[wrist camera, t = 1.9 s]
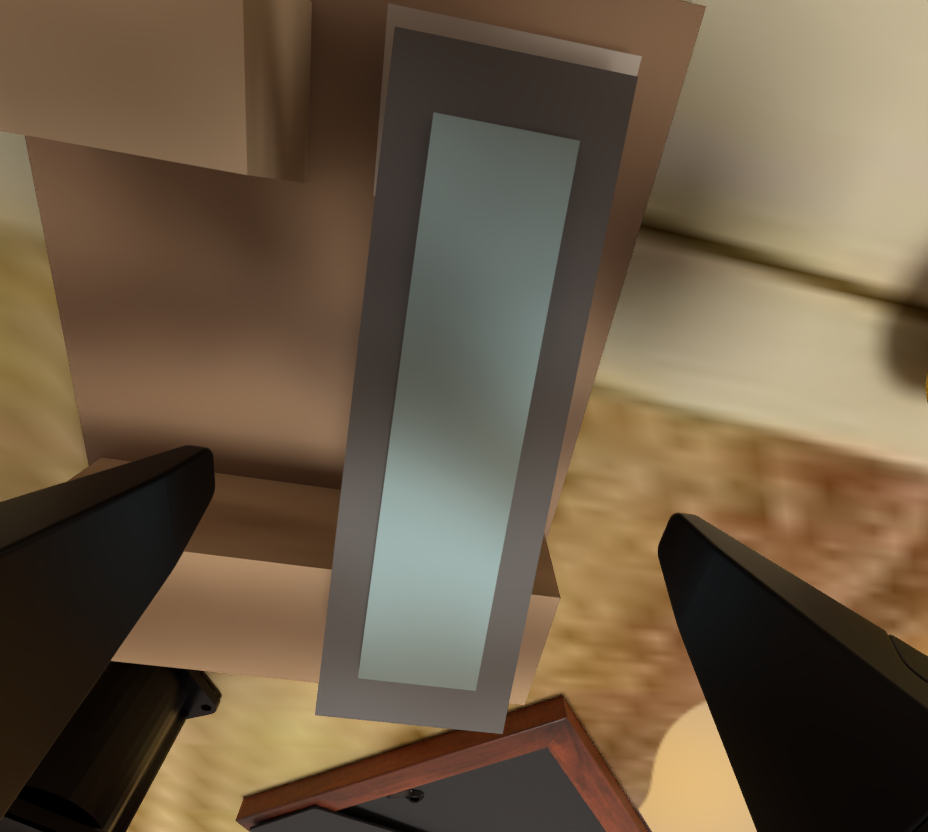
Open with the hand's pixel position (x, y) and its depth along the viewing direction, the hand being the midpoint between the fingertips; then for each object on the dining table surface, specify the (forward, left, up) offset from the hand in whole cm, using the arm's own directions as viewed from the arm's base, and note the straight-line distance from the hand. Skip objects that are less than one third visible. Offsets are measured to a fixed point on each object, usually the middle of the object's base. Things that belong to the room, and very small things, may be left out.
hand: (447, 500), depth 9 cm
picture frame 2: (-32, +7, -9) cm, 34 cm away
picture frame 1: (0, 0, -4) cm, 4 cm away
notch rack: (+2, +3, -8) cm, 9 cm away
